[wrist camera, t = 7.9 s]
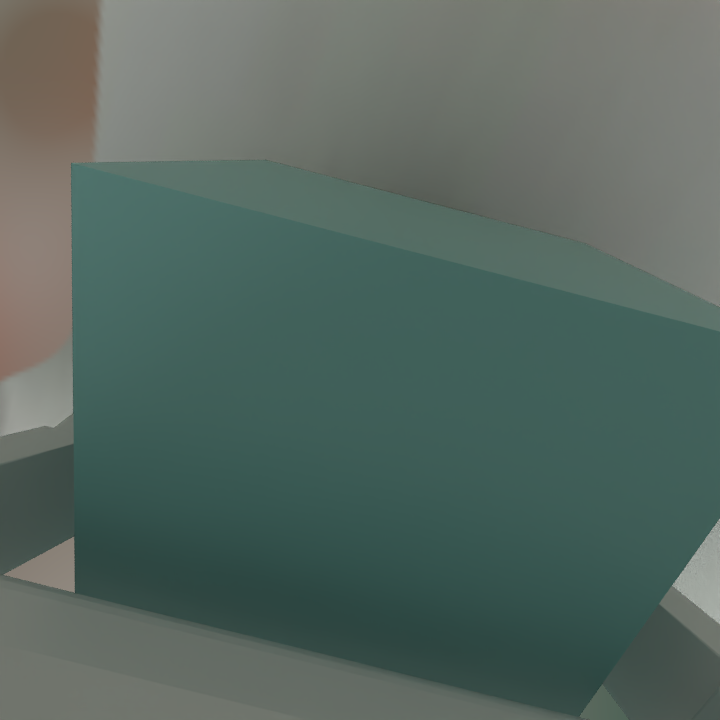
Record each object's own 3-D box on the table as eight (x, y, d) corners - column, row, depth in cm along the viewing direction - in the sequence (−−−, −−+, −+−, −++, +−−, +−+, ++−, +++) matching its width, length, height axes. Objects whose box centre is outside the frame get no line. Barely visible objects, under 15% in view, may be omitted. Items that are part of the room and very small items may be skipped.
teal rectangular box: (265, 159, 10) (70, 163, 4) (584, 242, 10) (831, 360, 4) (211, 530, 14) (76, 791, 8) (437, 586, 14) (461, 883, 8)
